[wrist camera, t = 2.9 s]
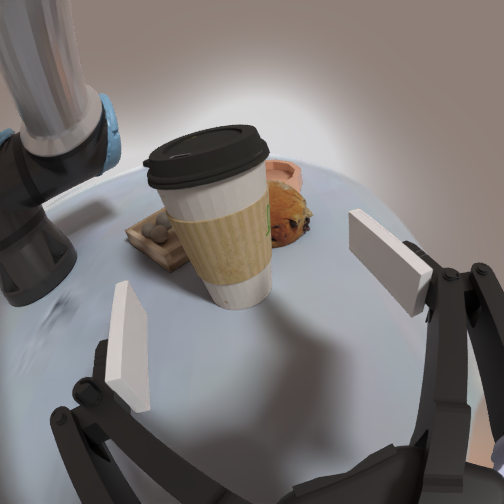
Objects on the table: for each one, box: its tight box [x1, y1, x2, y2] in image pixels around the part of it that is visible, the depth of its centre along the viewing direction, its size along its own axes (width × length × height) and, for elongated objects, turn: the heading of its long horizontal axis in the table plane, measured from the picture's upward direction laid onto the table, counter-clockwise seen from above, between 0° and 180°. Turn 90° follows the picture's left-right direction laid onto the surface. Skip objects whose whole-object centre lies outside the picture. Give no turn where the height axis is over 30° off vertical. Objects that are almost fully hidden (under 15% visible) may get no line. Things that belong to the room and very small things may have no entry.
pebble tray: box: [125, 207, 190, 272], centre depth 40 cm, size 12×8×3 cm, turn 45°
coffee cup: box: [147, 125, 272, 310], centre depth 26 cm, size 10×10×15 cm
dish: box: [265, 160, 303, 193], centre depth 49 cm, size 14×14×2 cm
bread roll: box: [266, 180, 313, 248], centre depth 38 cm, size 10×10×8 cm
